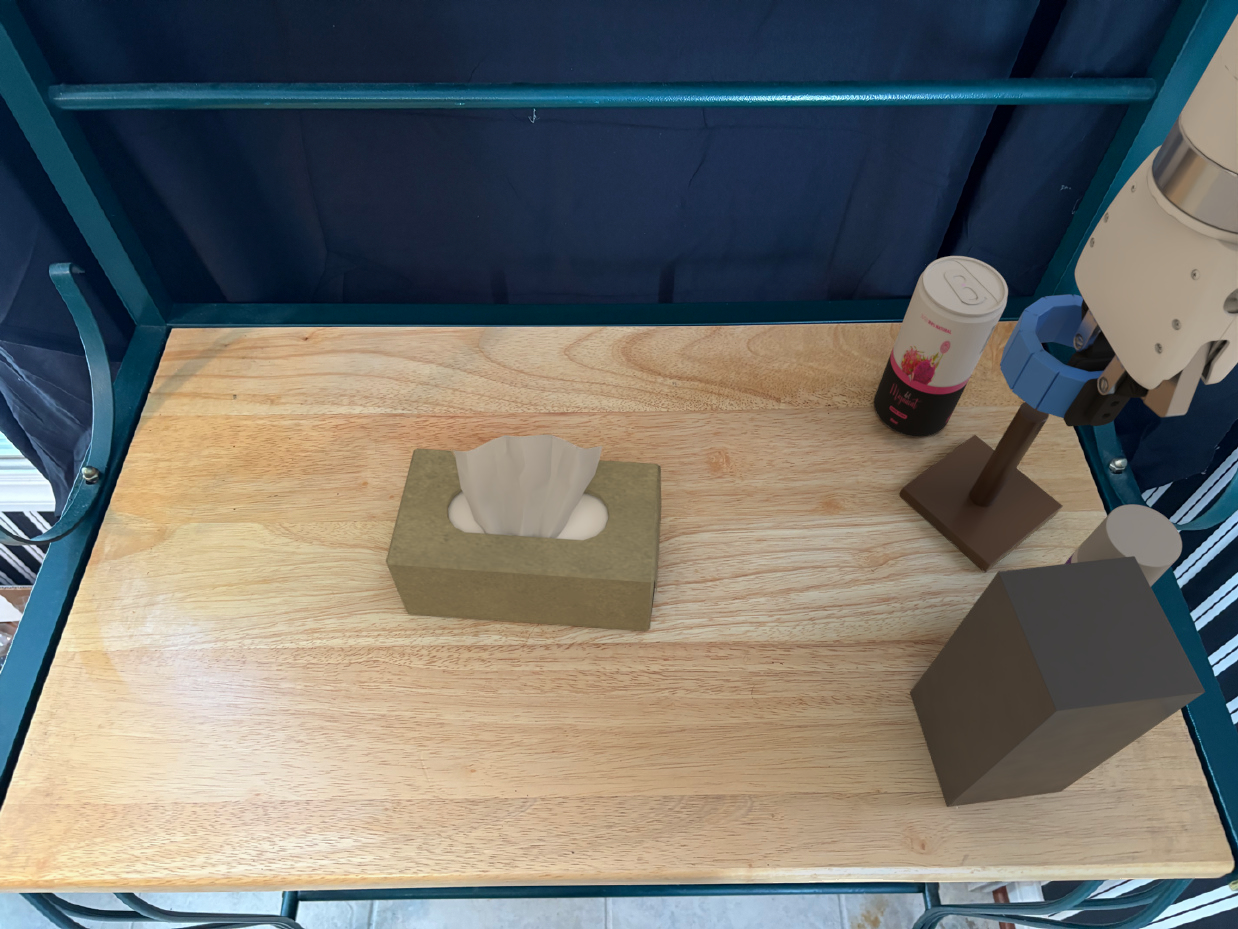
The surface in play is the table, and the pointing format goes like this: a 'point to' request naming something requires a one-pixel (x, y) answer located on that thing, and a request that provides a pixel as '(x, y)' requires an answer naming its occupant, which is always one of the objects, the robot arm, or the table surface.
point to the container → (1133, 540)
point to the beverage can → (939, 344)
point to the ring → (1045, 355)
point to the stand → (985, 493)
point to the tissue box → (528, 535)
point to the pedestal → (1050, 680)
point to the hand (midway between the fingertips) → (1080, 407)
